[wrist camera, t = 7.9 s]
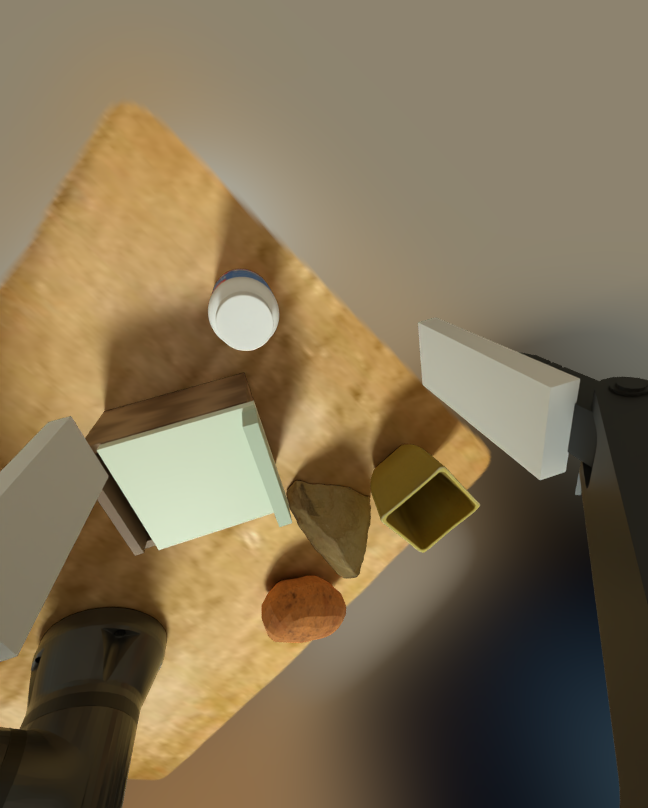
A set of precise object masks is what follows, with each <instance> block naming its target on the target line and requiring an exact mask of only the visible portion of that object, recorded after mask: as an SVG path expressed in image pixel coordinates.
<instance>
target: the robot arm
mask: <svg viewBox="0 0 648 808" xmlns="http://www.w3.org/2000/svg"><path fill="white" fill-rule="evenodd" d="M418 329H419V343H420V356H421V370H422V384H423V386H425V387H426V388H427V389H428V390H429V391H431V392H432V393H433V394H434V395H436V396H437V397H438V398H439V399H441V400H442V401H443V402H444V403H446V404H447V405H448V406H449V407H450V408H452V409H453V410H454V411H455V412H457V413H458V414H459V415H460V416H462V417H463V418H464V419H465V420H467V421H468V422H469V423H470V424H471V425H473V426H474V427H475V428H476V429H478V430H479V431H480V432H481V433H483V434H484V435H485V436H486V437H488V438H489V439H490V440H491V441H492V442H494V443H495V444H496V445H497V446H498V447H500V448H501V449H502V450H504V451H505V452H506V453H507V454H509V455H510V456H511V457H512V458H513V459H515V460H516V461H517V462H518V463H520V464H521V465H522V466H523V467H524V468H526V469H527V470H528V471H529V472H531V473H532V474H533V475H534V476H535V477H537V478H538V479H539V480H542V479H545V478H548V477H551V476H554V475H557V474H560V473H563V472H565V471H566V466H567V459H568V453H570V454H572V455H573V456H575V457H576V458H578V459H579V460H581V465H580V471H579V476H578V481H577V487H576V492H575V495H580V494H581V491H582V498H583V506H584V514H585V522H586V529H587V537H588V545H589V553H590V560H591V568H592V576H593V583H594V591H595V599H596V606H597V614H598V622H599V629H600V637H601V645H602V653H603V660H604V668H605V676H606V683H607V691H608V699H609V707H610V714H611V722H612V730H613V738H614V745H615V753H616V761H617V769H618V776H619V787H620V808H648V380H644V379H640V378H632V377H612V378H607V379H603V380H601V381H597V380H595V379H592V378H590V377H588V376H585V375H583V374H580V373H578V372H575V371H573V370H570V369H568V368H565V367H564V368H562V366H561V365H558V364H556V363H551V362H550V361H549V360H546V359H544V358H541V357H539V356H536V355H531V354H525V353H520V352H516V351H514V350H511V349H509V348H507V347H504V346H502V345H500V344H497V343H495V342H493V341H490V340H488V339H485V338H483V337H481V336H478V335H476V334H474V333H471V332H469V331H467V330H464V329H462V328H460V327H457V326H455V325H453V324H450V323H448V322H446V321H443V320H441V319H439V318H432V319H428V320H425V321H421V322H418ZM108 477H109V476H108V474H107V473H106V471H105V470H104V468H103V466H102V465H101V463H100V462H99V460H98V458H97V457H96V455H95V454H94V452H93V450H92V449H91V447H90V446H89V444H88V442H87V441H86V439H85V438H84V436H83V434H82V433H81V431H80V430H79V428H78V426H77V425H76V423H75V421H74V420H73V418H72V417H71V416H69V417H66V418H62V419H58V420H55V421H51V422H48V423H47V424H46V425H45V426H44V427H43V428H42V429H41V430H40V431H39V432H38V433H37V434H36V435H35V436H34V437H33V439H32V440H31V441H30V442H29V443H28V444H27V445H26V446H25V447H24V448H23V449H22V450H21V451H20V452H19V453H18V454H17V455H16V456H15V457H14V458H13V459H12V460H11V461H10V462H9V463H8V464H7V465H6V466H5V467H4V468H3V469H2V471H1V472H0V662H1V661H4V660H7V659H10V658H13V657H16V656H18V654H19V652H20V650H21V648H22V646H23V644H24V642H25V640H26V638H27V636H28V634H29V632H30V630H31V628H32V626H33V624H34V622H35V620H36V618H37V616H38V614H39V612H40V610H41V608H42V606H43V605H44V603H45V601H46V599H47V597H48V595H49V593H50V591H51V589H52V587H53V585H54V583H55V581H56V579H57V577H58V575H59V573H60V571H61V569H62V567H63V565H64V563H65V561H66V559H67V557H68V555H69V553H70V551H71V549H72V548H73V546H74V544H75V542H76V540H77V538H78V536H79V534H80V532H81V530H82V528H83V526H84V524H85V522H86V520H87V518H88V516H89V514H90V512H91V510H92V508H93V506H94V504H95V502H96V500H97V498H98V496H99V494H100V492H101V491H102V489H103V487H104V485H105V483H106V481H107V479H108ZM166 643H167V636H166V632H165V630H164V628H163V627H162V625H161V624H160V623H159V622H158V621H157V620H155V619H154V618H152V617H151V616H149V615H147V614H144V613H142V612H139V611H135V610H131V609H125V608H98V609H91V610H87V611H83V612H79V613H76V614H73V615H71V616H69V617H66V618H64V619H62V620H61V621H59V622H58V623H56V624H55V625H53V626H52V627H51V628H50V629H49V630H48V631H47V632H46V633H45V635H44V636H43V638H42V640H41V642H40V644H39V646H38V649H37V651H36V653H35V655H34V658H33V662H32V668H31V678H30V686H29V695H28V704H27V712H26V716H25V718H24V721H23V723H22V725H21V727H20V729H12V728H3V727H0V808H122V804H123V800H124V794H125V789H126V783H127V778H128V773H129V767H130V762H131V756H132V751H133V746H134V740H135V735H136V729H137V724H138V719H139V714H140V710H141V707H142V705H143V703H144V701H145V699H146V697H147V694H148V692H149V690H150V688H151V686H152V684H153V682H154V679H155V677H156V675H157V673H158V671H159V669H160V667H161V665H162V663H163V660H164V655H165V649H166Z"/></svg>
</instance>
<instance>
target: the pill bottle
mask: <svg viewBox="0 0 648 808" xmlns="http://www.w3.org/2000/svg"><path fill="white" fill-rule="evenodd" d="M208 317H209V321H210V324H211V326H212V328H213V330H214V332H215V333H216V334H217V336H218V337H219V338H220V339H222V340H223V341H224V342H225V343H226V344H228V345H229V346H230V347H232V348H234V349H237V350H242V351H250V350H255V349H257V348H259V347H261V346H263V345H264V344H265V343H266V342H267V341H268V340H269V338H270V337H271V336H272V335H273V334H274V332H275V330H276V328H277V326H278V322H279V308H278V304H277V301H276V299H275V297H274V295H273V293H272V291H271V289H270V288H269V286H268V284H267V283H266V282H265V280H264V279H263V278H262V277H261V276H260V275H258V274H257V273H255V272H253V271H250V270H247V269H234V270H231V271H228V272H226V273H225V274H223V275H222V276H221V277H220V278H219V279H218V281H217V282H216V284H215V286H214V288H213V292H212V295H211V297H210V300H209V305H208Z"/></svg>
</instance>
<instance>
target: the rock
mask: <svg viewBox="0 0 648 808" xmlns="http://www.w3.org/2000/svg"><path fill="white" fill-rule="evenodd" d="M286 495H287V500H288V503H289V508H290V510H291V511H292V513H293V515H294V517H295V518H296V520H297V524H298V525H299V527H300V528H301V530H302V531H303V532H304V533H305V535H306V537H307V538H308V540H309V541H310V542H311V544H312V545H313V547H314V548H315V549H316V551H318V552H319V553H320V554H321V555H322V556H323V557H324V559H325V560H326V561H327V562H328V563H329V565H330V566H331V567H332V568H333V569H334V570H335V571H336V573H337V574H338V575H340V576H341V577H343V578H355V577H357V576H358V575H359V574H360V568H361V565H362V562H363V560H364V554H365V551H366V543H367V538H368V529H369V526H370V519H371V515H370V511H371V506H370V497H369V496H364V495H362V494H360V493H358V492H356V491H355V490H353V489H351V488H350V487H342V486H338V485H337V486H334V485H329V486H328V485H323V484H315V485H313V484H308V483H305V482H303V481H295V482H294V483H293V484H292V485H291V487H290V488H289V489H288V491H287V493H286Z"/></svg>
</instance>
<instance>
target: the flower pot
mask: <svg viewBox="0 0 648 808" xmlns="http://www.w3.org/2000/svg"><path fill="white" fill-rule="evenodd" d="M370 487H371V493H372V496H373V499H374V502H375V505H376V507H377V510H378V513H379V516H380V519H381V521H382V522H383V523H384V524H385V525H386V526H388V527H389V528H390V529H392V530H393V531H394V532H395V533H397V534H398V535H399V536H400V537H402V538H403V539H404V540H406V541H407V542H408V543H409V544H410V545H412V546H413V547H414V548H415V549H417V550H418V551H419V552H422V553H424V552H426V551H427V550H428V549H430V548H431V547H432V546H433V545H434V544H436V543H437V542H438V541H439V540H440V539H441V538H443V537H444V536H445V535H446V534H447V533H448V532H449V531H451V530H452V529H453V528H454V527H456V526H457V525H458V524H460V523H461V522H462V521H463V520H465V519H466V518H467V517H468V516H470V515H471V514H472V513H474V512H475V511H476V510H477V509H478V508H479V507H480V504H479V502H478V501H477V500H476V499H475V498H473V496H472V495H471V494H470V493H469V492H468V491H467V490H466V489H465V488H464V487H463V486H462V485H461V483H460V482H459V481H458V480H457V479H456V478H455V477H454V476H453V475H452V474H451V473H450V471H449V470H448V469H447V468H446V467H445V466H443V465H442V464H441V463H440V462H439V461H437V460H436V459H435V458H434V457H432V456H431V455H430V454H429V453H428V452H426V451H425V450H424V449H422V448H420V447H418V446H416V445H412V444H405V445H401V446H400V447H399V448H397V449H396V450H395V451H394V452H393V453H392V454H391V455H390V456H389V457H387V458H386V459H385V460H384V461H383V462H382V463H381V464H379V465H378V466H377V467H376V468H375V469H374V471H373V474H372V477H371V483H370Z"/></svg>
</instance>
